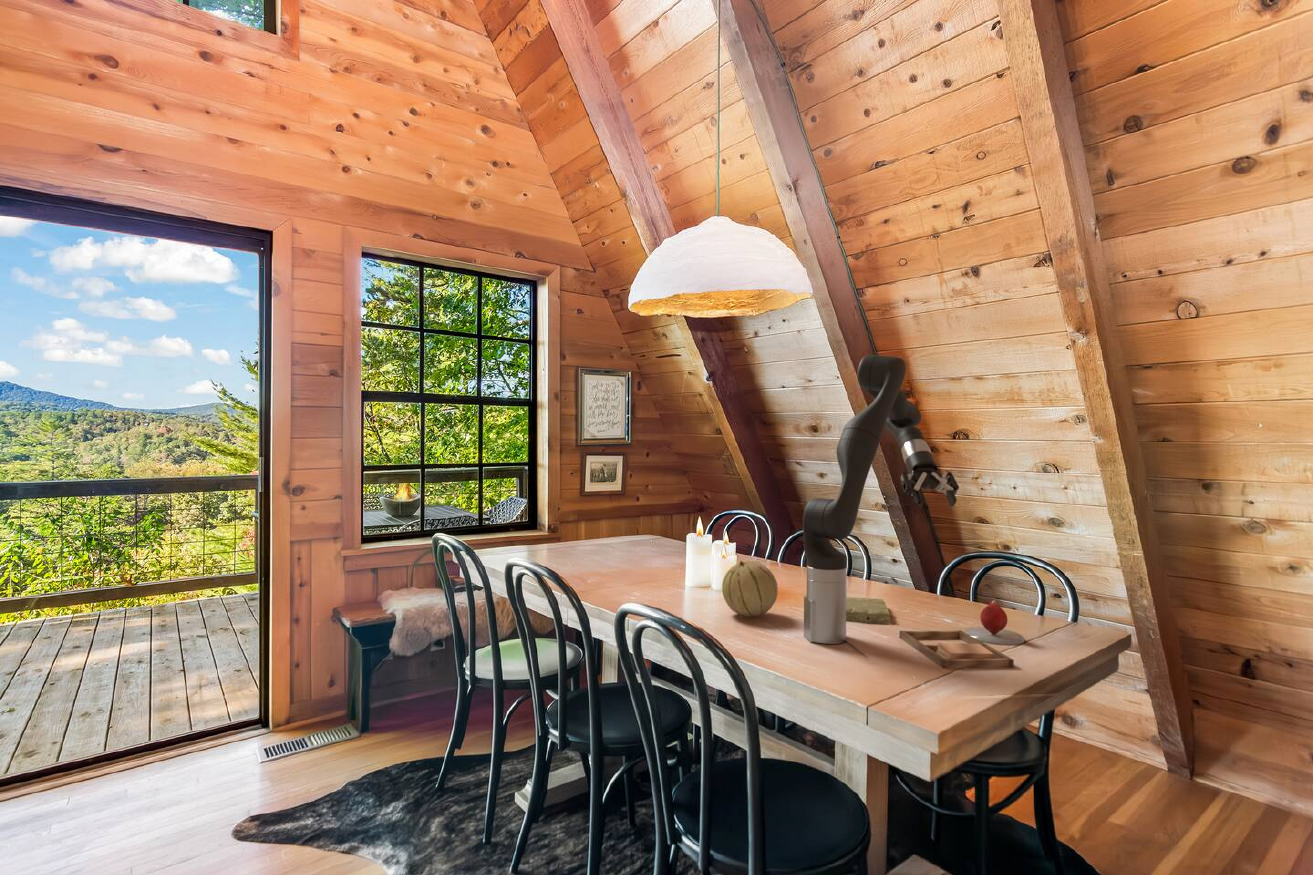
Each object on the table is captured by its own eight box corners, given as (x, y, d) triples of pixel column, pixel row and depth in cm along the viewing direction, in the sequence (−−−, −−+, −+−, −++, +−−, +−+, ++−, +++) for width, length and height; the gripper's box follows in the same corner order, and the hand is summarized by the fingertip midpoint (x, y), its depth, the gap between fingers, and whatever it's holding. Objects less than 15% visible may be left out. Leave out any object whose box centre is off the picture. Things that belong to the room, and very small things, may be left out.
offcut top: (950, 658, 146) (950, 652, 146) (937, 648, 153) (937, 643, 153) (993, 659, 146) (994, 653, 146) (979, 649, 153) (979, 643, 153)
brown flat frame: (943, 670, 144) (943, 660, 144) (899, 639, 166) (899, 631, 166) (1013, 669, 145) (1013, 659, 145) (960, 638, 167) (960, 630, 167)
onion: (995, 638, 164) (996, 604, 164) (974, 632, 169) (975, 599, 169) (1012, 635, 166) (1012, 602, 166) (991, 629, 172) (991, 597, 172)
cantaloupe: (788, 616, 187) (789, 560, 187) (754, 626, 177) (755, 566, 177) (744, 606, 197) (745, 553, 197) (710, 615, 187) (711, 559, 187)
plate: (981, 646, 161) (981, 642, 161) (953, 631, 174) (953, 627, 174) (1035, 646, 161) (1035, 641, 161) (1004, 630, 174) (1004, 626, 174)
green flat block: (811, 605, 202) (811, 592, 202) (883, 608, 198) (883, 596, 198) (812, 621, 184) (812, 608, 184) (892, 626, 180) (892, 612, 180)
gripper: (897, 449, 191) (915, 495, 180) (948, 450, 192) (969, 495, 180) (889, 468, 196) (906, 513, 185) (939, 468, 197) (958, 513, 186)
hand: (937, 504), depth 183 cm, fingers open, 8 cm apart
